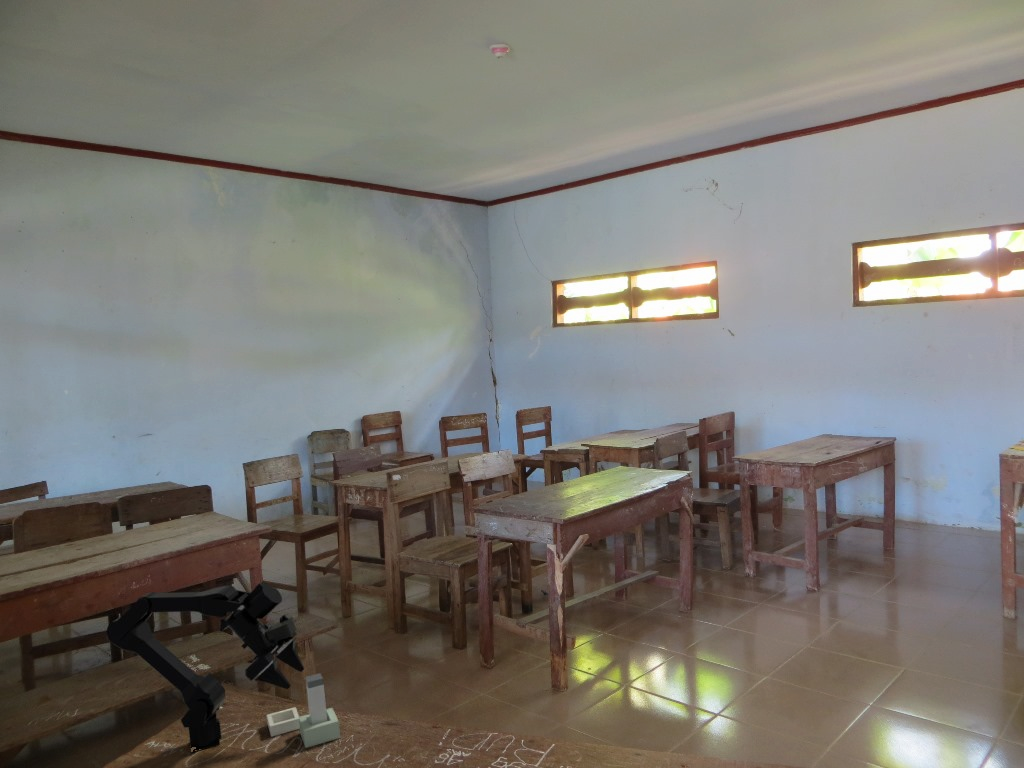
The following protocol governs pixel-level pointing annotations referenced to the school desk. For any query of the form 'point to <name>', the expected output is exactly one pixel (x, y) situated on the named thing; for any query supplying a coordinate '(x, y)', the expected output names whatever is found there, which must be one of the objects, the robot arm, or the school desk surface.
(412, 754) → the school desk surface
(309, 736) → the raised socket
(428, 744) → the school desk surface
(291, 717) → the low collar
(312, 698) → the plug
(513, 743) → the school desk surface
